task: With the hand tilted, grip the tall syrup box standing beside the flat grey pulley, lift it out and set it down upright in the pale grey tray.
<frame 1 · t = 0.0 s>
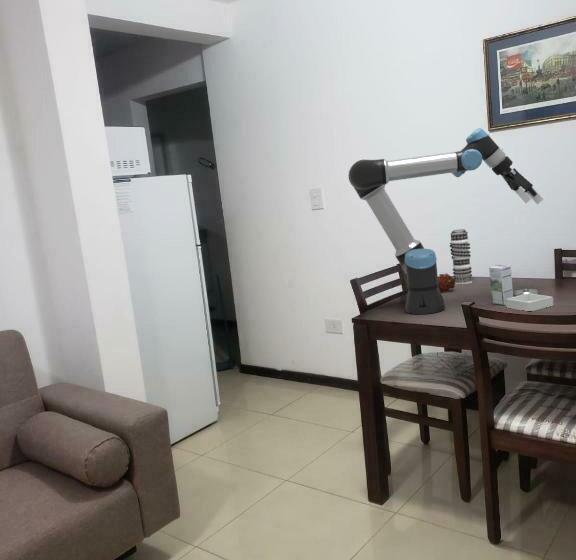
hand: (534, 201, 220), 36 cm above the table, tool tilted 35°, fingers open, 13 cm apart
decorative candle: (463, 283, 262), on the table
syrup box: (502, 303, 212), on the table
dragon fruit: (443, 291, 249), on the table
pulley: (526, 297, 217), on the table
tray: (529, 306, 202), on the table
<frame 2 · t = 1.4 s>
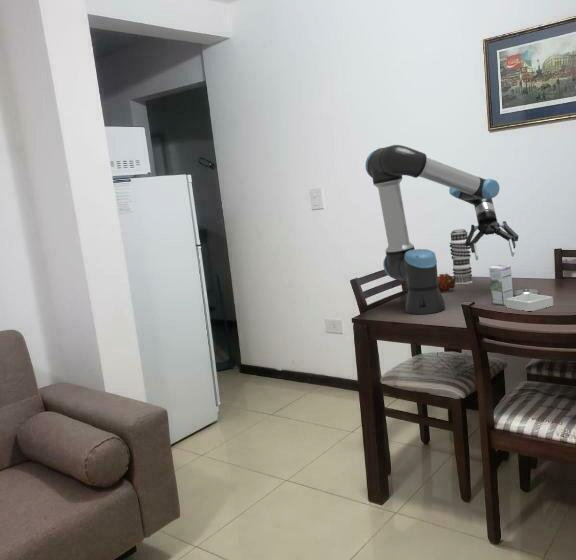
hand: (495, 256, 220), 17 cm above the table, tool tilted 45°, fingers open, 13 cm apart
nothing on the table moved.
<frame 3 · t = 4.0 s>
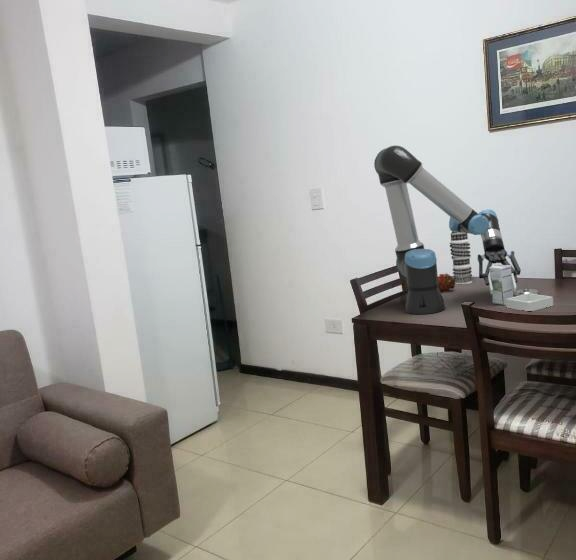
hand: (503, 290, 208), 6 cm above the table, tool tilted 45°, fingers closed on syrup box, 8 cm apart
syrup box: (502, 303, 212), on the table, touching gripper
everything else where it was.
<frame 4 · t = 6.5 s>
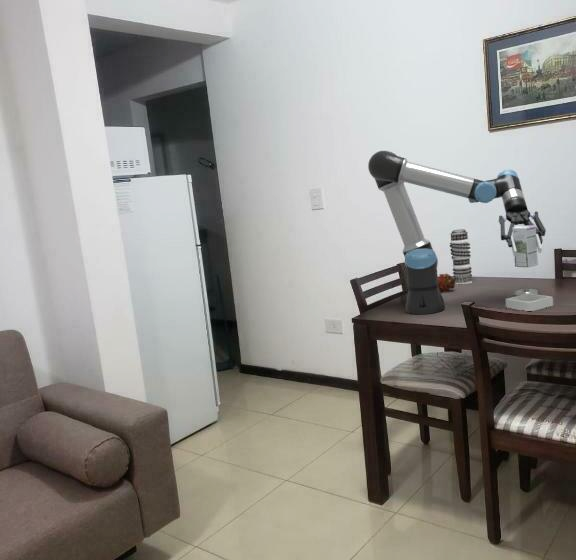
hand: (527, 251, 196), 21 cm above the table, tool tilted 45°, fingers closed on syrup box, 8 cm apart
syrup box: (526, 266, 200), point 15 cm above the table, touching gripper
everything else where it was.
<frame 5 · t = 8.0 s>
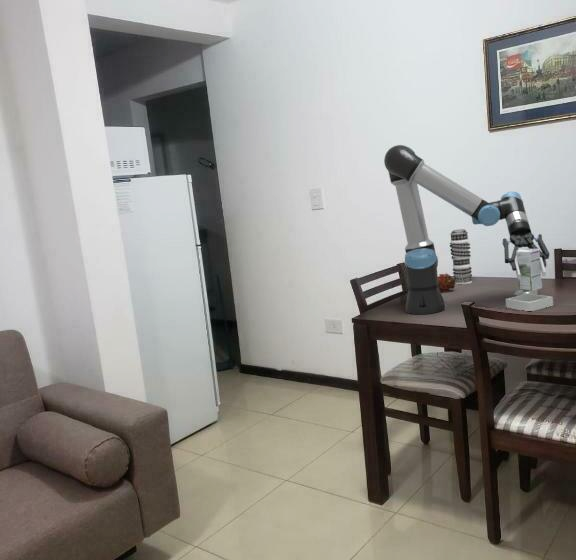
hand: (531, 275, 197), 12 cm above the table, tool tilted 45°, fingers closed on syrup box, 8 cm apart
syrup box: (530, 289, 201), point 6 cm above the table, touching gripper
everything else where it was.
when the fingers open (8 cm above the table, at t = 9.3 s): syrup box drops 1 cm, resting on tray.
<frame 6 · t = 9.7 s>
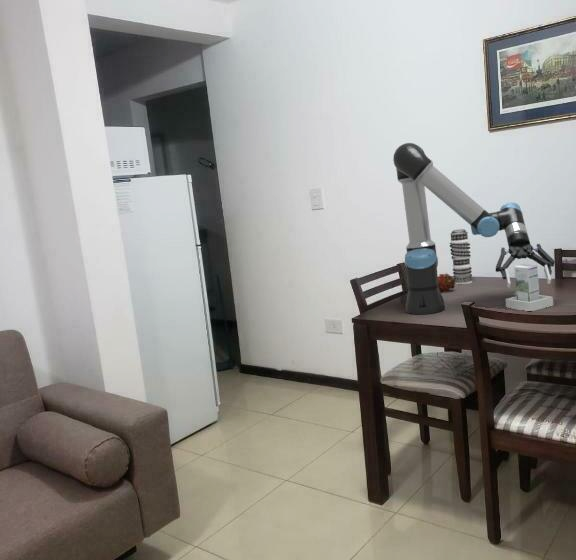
hand: (529, 283, 198), 9 cm above the table, tool tilted 45°, fingers open, 13 cm apart
syrup box: (528, 305, 202), point 1 cm above the table, touching tray
everything else where it was.
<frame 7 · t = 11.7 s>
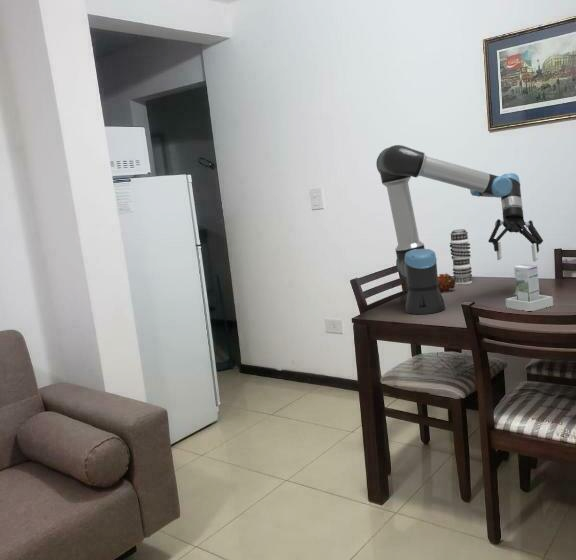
hand: (517, 259, 214), 15 cm above the table, tool tilted 30°, fingers open, 13 cm apart
nothing on the table moved.
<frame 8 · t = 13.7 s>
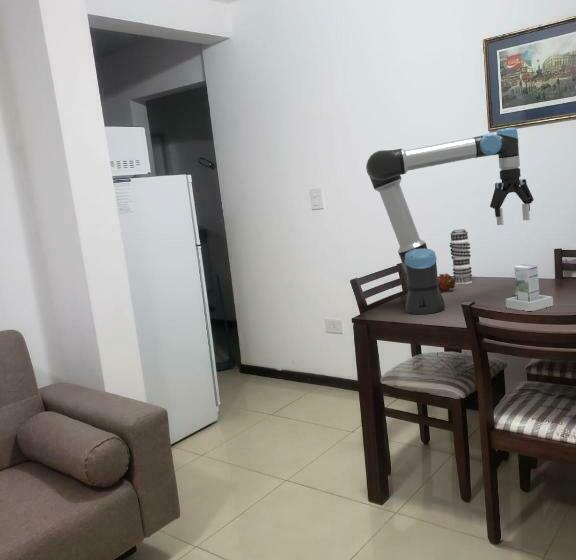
hand: (513, 222, 221), 29 cm above the table, tool pointing down, fingers open, 13 cm apart
nothing on the table moved.
at the end: syrup box inside the target area on the tray (0.2 cm from its centre), point 0.6 cm above the tray's base; syrup box tilted 0°; the gripper is holding nothing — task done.
